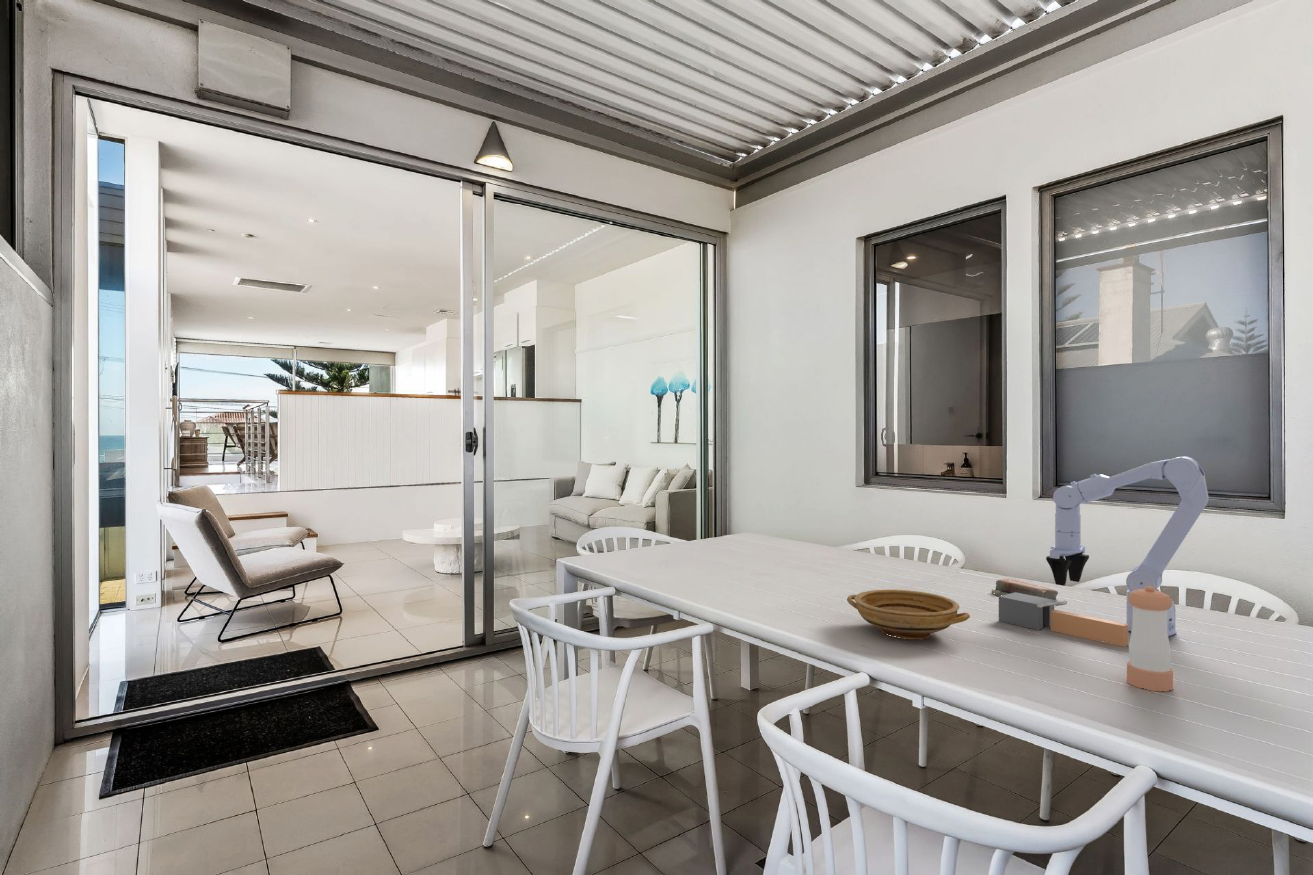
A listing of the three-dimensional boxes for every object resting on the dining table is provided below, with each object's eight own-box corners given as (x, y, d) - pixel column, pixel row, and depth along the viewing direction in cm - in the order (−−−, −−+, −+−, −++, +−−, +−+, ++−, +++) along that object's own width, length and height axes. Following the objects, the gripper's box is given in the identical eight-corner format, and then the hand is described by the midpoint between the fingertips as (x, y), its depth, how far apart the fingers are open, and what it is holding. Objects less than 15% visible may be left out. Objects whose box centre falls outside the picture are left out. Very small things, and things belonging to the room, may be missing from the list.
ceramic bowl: (983, 633, 166) (984, 600, 166) (953, 658, 148) (953, 621, 148) (867, 612, 185) (867, 583, 185) (827, 632, 167) (827, 600, 167)
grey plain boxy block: (1057, 625, 172) (1057, 600, 172) (1040, 631, 168) (1040, 605, 168) (1015, 616, 181) (1015, 592, 181) (998, 621, 177) (998, 596, 177)
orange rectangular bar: (1128, 646, 157) (1128, 624, 157) (1124, 647, 155) (1124, 626, 155) (1055, 629, 170) (1055, 609, 170) (1050, 631, 168) (1050, 611, 168)
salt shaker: (1153, 693, 128) (1154, 592, 127) (1117, 680, 135) (1117, 583, 134) (1182, 689, 130) (1182, 589, 129) (1145, 676, 137) (1145, 581, 136)
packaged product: (989, 579, 207) (1013, 576, 211) (989, 594, 207) (1013, 592, 211) (1042, 591, 190) (1067, 588, 194) (1042, 609, 190) (1067, 605, 194)
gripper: (1065, 527, 186) (1065, 577, 186) (1037, 531, 178) (1037, 583, 178) (1093, 530, 180) (1093, 581, 180) (1066, 535, 172) (1066, 588, 172)
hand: (1067, 583), depth 179 cm, fingers open, 7 cm apart
